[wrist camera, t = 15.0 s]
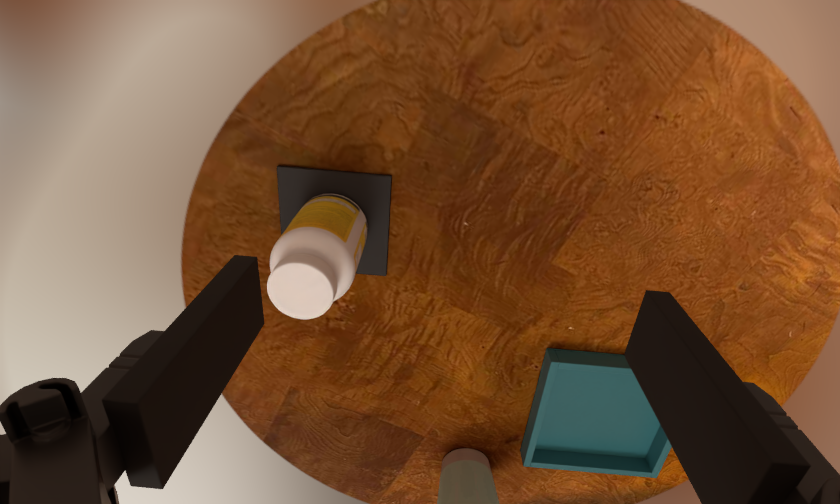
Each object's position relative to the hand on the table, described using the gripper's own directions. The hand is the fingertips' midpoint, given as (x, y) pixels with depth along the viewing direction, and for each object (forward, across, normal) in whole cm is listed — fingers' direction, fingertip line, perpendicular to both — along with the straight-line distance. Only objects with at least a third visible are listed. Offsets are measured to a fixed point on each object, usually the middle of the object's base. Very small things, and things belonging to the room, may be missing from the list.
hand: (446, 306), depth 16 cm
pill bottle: (+25, -10, -8) cm, 28 cm away
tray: (+26, +20, -29) cm, 43 cm away
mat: (+25, -10, -8) cm, 28 cm away
